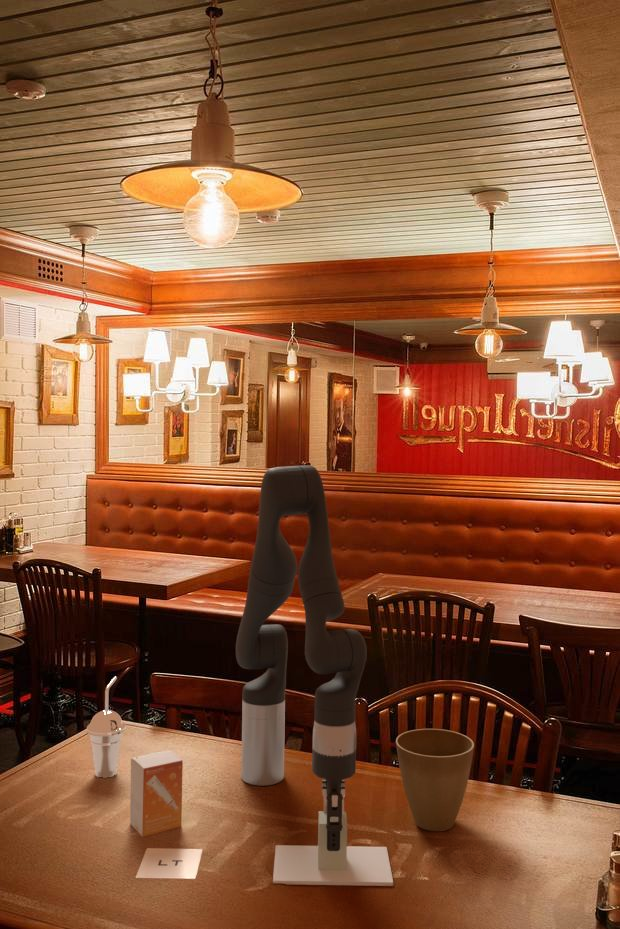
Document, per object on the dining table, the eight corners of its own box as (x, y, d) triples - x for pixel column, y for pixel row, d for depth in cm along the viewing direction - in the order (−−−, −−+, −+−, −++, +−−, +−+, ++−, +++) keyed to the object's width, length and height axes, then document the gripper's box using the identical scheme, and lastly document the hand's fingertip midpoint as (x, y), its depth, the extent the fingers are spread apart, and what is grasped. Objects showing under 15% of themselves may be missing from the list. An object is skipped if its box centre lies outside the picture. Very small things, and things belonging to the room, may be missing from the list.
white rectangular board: (275, 848, 152) (275, 845, 152) (386, 850, 152) (386, 846, 152) (272, 884, 140) (272, 880, 140) (393, 885, 140) (393, 882, 140)
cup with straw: (77, 775, 183) (77, 684, 182) (109, 762, 190) (109, 674, 190) (104, 785, 178) (104, 691, 177) (135, 771, 185) (136, 681, 185)
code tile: (146, 849, 151) (146, 848, 151) (202, 850, 151) (202, 849, 151) (135, 878, 141) (135, 877, 141) (195, 879, 141) (195, 878, 141)
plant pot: (453, 802, 172) (455, 725, 172) (485, 837, 158) (487, 752, 157) (383, 809, 169) (385, 730, 168) (410, 845, 154) (411, 759, 154)
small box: (142, 838, 155) (142, 768, 155) (129, 824, 161) (130, 757, 160) (182, 827, 160) (183, 759, 159) (168, 814, 165) (169, 748, 165)
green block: (317, 855, 149) (318, 811, 148) (345, 856, 149) (345, 811, 148) (318, 869, 144) (318, 823, 144) (346, 870, 144) (347, 824, 144)
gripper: (358, 762, 138) (356, 859, 139) (353, 731, 153) (352, 819, 153) (312, 761, 138) (311, 858, 139) (312, 730, 153) (310, 818, 153)
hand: (332, 837), depth 146 cm, fingers open, 8 cm apart
